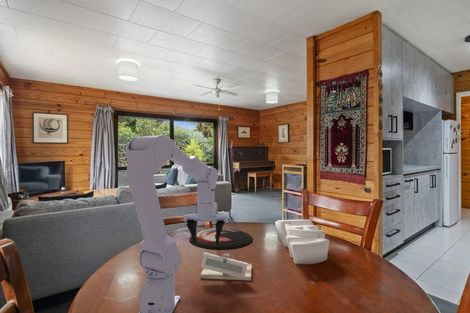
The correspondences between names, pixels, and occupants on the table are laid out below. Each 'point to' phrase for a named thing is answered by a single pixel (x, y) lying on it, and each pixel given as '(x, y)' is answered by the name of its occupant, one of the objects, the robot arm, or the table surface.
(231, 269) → the frame
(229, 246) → the wall clock
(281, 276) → the table surface
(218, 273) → the easel stand
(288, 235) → the white wavy slab sculpture
